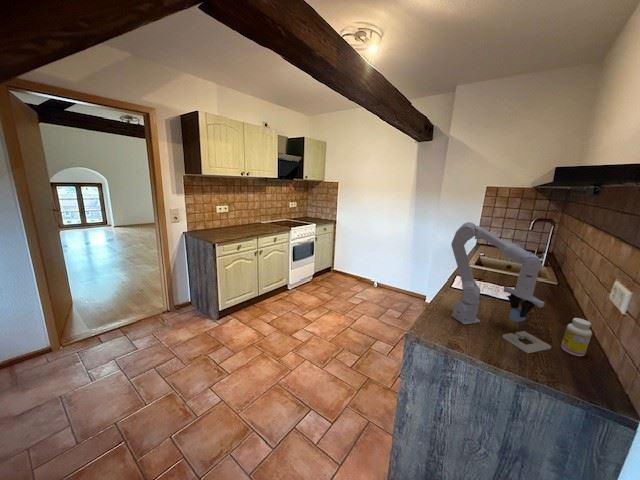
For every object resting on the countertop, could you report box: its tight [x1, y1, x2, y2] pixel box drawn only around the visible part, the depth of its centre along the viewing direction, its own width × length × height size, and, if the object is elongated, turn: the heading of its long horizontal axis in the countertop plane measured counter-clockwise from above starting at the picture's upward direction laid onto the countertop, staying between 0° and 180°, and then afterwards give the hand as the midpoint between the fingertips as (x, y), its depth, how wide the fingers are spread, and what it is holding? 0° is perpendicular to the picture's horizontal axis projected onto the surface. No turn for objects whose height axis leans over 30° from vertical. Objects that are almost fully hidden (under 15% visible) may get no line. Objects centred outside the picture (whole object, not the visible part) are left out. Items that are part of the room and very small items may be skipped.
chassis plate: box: [501, 330, 552, 354], centre depth 101 cm, size 12×10×1 cm
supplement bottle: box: [560, 317, 593, 357], centre depth 95 cm, size 7×7×13 cm
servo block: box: [508, 306, 527, 323], centre depth 105 cm, size 5×3×5 cm, turn 107°
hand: (518, 314), depth 105 cm, fingers closed on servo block, 3 cm apart
